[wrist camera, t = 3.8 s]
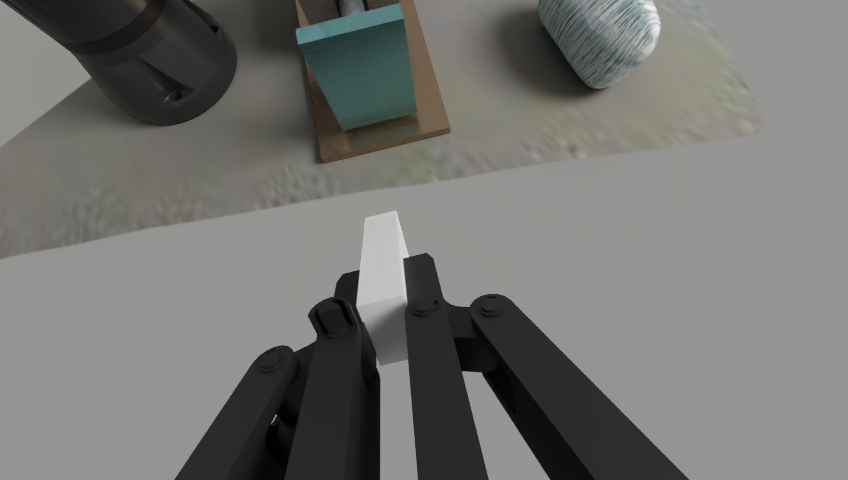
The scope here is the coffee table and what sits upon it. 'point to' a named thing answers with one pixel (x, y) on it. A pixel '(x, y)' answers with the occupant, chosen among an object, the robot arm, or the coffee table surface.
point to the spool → (602, 36)
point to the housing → (429, 121)
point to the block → (361, 63)
